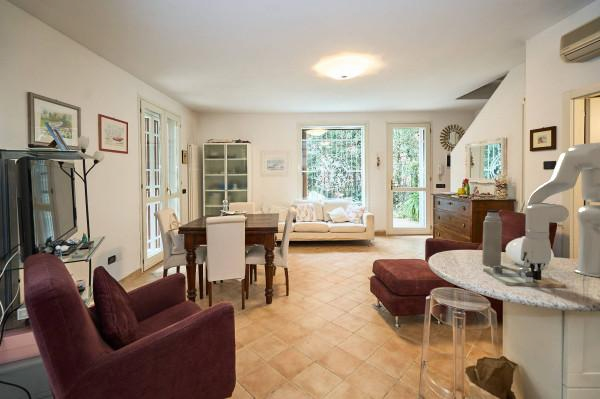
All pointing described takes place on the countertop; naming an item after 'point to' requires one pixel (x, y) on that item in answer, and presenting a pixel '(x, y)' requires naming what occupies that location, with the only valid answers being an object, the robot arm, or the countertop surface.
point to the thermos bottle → (492, 239)
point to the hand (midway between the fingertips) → (535, 279)
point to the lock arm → (526, 274)
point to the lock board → (520, 278)
